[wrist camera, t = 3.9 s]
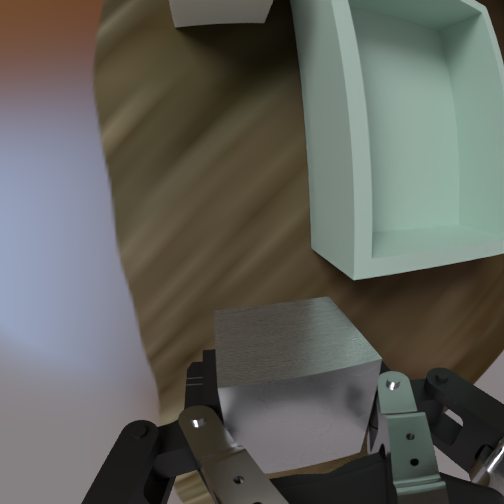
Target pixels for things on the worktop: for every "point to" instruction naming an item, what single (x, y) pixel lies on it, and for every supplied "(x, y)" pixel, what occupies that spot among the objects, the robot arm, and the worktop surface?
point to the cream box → (218, 11)
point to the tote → (402, 132)
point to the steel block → (294, 382)
